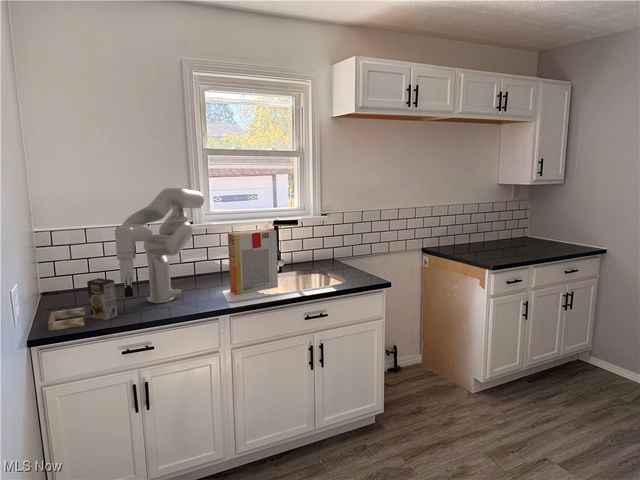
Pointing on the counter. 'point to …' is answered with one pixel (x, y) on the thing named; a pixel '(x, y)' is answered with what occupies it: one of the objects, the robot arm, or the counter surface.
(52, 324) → the dock
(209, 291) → the counter surface
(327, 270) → the counter surface
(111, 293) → the coffee box
